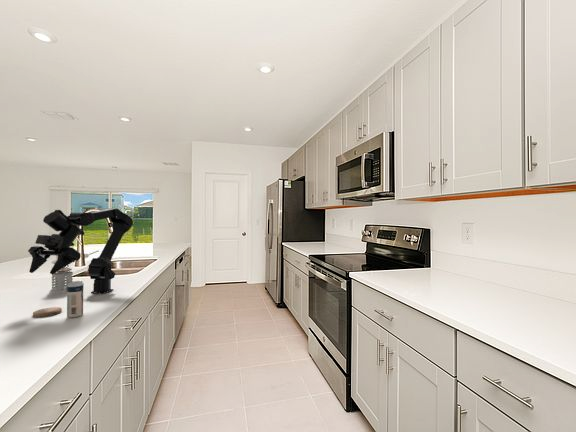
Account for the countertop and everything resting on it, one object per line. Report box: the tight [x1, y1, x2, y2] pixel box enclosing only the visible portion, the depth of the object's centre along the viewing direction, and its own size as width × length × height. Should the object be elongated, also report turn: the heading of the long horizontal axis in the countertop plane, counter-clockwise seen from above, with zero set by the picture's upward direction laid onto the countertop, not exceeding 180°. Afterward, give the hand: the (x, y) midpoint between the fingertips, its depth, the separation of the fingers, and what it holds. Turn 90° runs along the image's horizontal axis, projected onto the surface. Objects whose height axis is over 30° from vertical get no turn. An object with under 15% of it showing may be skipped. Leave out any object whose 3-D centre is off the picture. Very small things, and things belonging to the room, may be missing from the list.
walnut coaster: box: [32, 306, 63, 318], centre depth 103 cm, size 8×8×1 cm
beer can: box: [66, 280, 84, 319], centre depth 101 cm, size 5×5×12 cm
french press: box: [48, 258, 74, 294], centre depth 135 cm, size 10×12×25 cm
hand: (40, 273), depth 105 cm, fingers open, 9 cm apart
